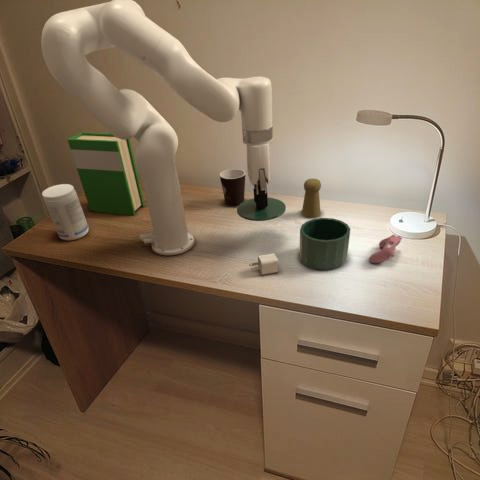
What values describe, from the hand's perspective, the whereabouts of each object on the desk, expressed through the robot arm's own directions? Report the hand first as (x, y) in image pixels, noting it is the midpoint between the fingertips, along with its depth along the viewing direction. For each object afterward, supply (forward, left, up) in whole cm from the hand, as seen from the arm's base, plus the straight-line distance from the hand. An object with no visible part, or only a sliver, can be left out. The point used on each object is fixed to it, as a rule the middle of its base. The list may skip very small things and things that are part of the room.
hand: (260, 203), depth 115 cm
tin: (+15, -13, -11) cm, 23 cm away
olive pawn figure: (+18, +13, -11) cm, 25 cm away
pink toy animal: (+31, -16, -11) cm, 37 cm away
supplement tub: (-58, +17, -11) cm, 62 cm away
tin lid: (0, 0, -2) cm, 2 cm away
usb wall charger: (-2, -16, -11) cm, 20 cm away
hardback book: (-46, +33, -11) cm, 58 cm away
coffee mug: (-5, +29, -11) cm, 32 cm away
